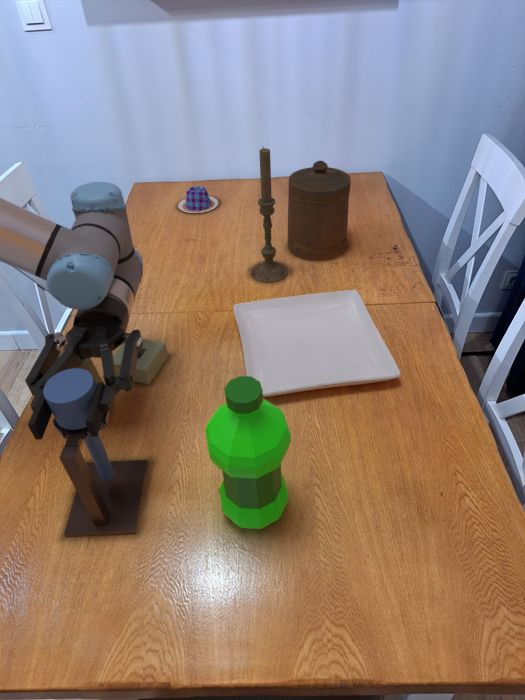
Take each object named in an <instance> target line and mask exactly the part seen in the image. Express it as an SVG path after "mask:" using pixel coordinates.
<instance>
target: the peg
mask: <svg viewBox="0 0 525 700" xmlns="http://www.w3.org/2000/svg"><path fill="white" fill-rule="evenodd" d="M95 389H96V383H95V381H94V378H93V376H92V374H91V373H90V372H88V371H87V370H84V369H80V368H73V369H67V370H64V371H61V372H59V373H57V374H56V375H54V376H53V377H51V378H50V379H49V380H48V381H47V383H46V384H45V386H44V389H43V394H44V397H45V399H46V401H47V403H48V405H49V407H50V409H51V411H52V415H53V418H55V419H56V421H57V423H58V424H59V425H60V426H61V427H63V428H65V429H69V430H77V429H82V428H85V427H87V426H86V423H85V421H86V418H87V414H88V411H89V408H90V405H91V402H92V399H93V395H94V392H95ZM83 441H84V444H85V445H86V448H87V450H88V453H89V454H90V457H91V459H92V461H93V462H94V463H95V465H96V468H97V470H98V472H99V474H100V476H101V478H102V479H103V480H109V479H111V478H112V477H113V476H114V470H113V468H112V465H111V463H110V461H111V460H110V458H109V456H108V453H107V451H106V449H105V446H104V443H103V442H102V441H103V440H102V439H101V437H100V434H98V437H90V438H89V437H88V436H87V437H86V439H83Z"/></svg>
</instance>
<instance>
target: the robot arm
mask: <svg viewBox="0 0 525 700" xmlns="http://www.w3.org/2000/svg"><path fill="white" fill-rule="evenodd" d="M70 202H71V206H72V208H71V211H72V212H73V214H74V218H75V220H74V221H73V224H72V226H71V228H69V227H66V226H63V225H61V224H59V223H57V222H55V221H53V220H50V219H48V218H45V217H44V216H41V215H39V214H37V213H36V212H32V211H30V210H28V209H27V208H24V207H22V206H20V205H18V204H16V203H13V202H11V201H9V200H7V199H5V198H2V196H1V197H0V262H1V263H3V264H6V265H8V266H10V267H13V268H15V269H17V270H20V271H23V272H25V273H27V274H29V275H33V276H34V277H37V278H40V279H41V280H44V281H46V287H47V290H48V292H49V294H50V295H51V296H52V298H54V299H55V300H56V301H57V302H59V304H61V305H62V306H64V307H66V308H68V309H72V310H76V313H75V315H74V318H73V322H72V326H71V328H70V329H69V330H68V331H67V332H66V333H65V335H63V336H61V337H56V338H55V336H54V334H55V333H48V334H46V336H45V337H44V338H45V339H44V341H45V342H44V346H43V347H42V349H41V351H40V353H39V355H38V357H37V358H36V360H35V362H34V364H33V365H32V367H31V368H30V371H29V373H27V375H26V377H25V380H24V382H25V384H26V386H27V388H28V390H29V392H30V394H31V395H32V396H33V398H32V400H31V402H30V408H31V411H32V414H31V416H30V418H29V421H28V423H27V426H28V429H29V431H30V432H31V434H32V436H33V437H34V439H35V441H36V440H37V441H38V440H43V438H44V436H45V434H46V433H45V432H46V430H47V427H48V425H49V423H50V420H51V418H52V415H53V413H52V411H51V409H50V407H49V405H48V403H47V401H46V399H45V397H44V394H43V389H44V386H45V384H46V383H47V381H48V380H49V379H50V378H51V377H53V376H54V375H56V374H57V373H59V372H61V371H64V370H67V369H73V368H76V367H77V365H81V364H82V363H83V362H84V361H85V359H86V358H91V359H92V358H94V359H95V358H97V359H101V366H102V372H103V373H102V374H103V375H102V377H103V382H98V383H97V386H96V389H95V392H94V395H93V399H92V402H91V405H90V408H89V411H88V414H87V418H86V421H85V423H86V426H87V428H88V430H89V432H90V435H91V437H98V434H99V433H100V431H101V430H100V426H101V423H102V419H103V416H104V412H108V411H111V412H112V409H113V408H114V404H115V400H116V396H117V395H118V393H119V392H120V391H125V392H130V391H132V390H133V388H134V383H135V381H134V377H135V370H136V363H137V357H138V352H139V351H140V349H141V348H142V346H143V341H142V334H141V330H140V329H133V330H132V331H130V332H127V329H128V326H129V322H130V317H131V315H132V310H133V307H134V304H135V300H136V297H137V293H138V291H139V286H140V284H141V282H142V279H143V276H144V261H143V256H142V255H141V254H140V253H139V251H138V250H137V249H136V248H135V247H134V242H133V236H132V233H131V227H130V222H129V216H128V212H127V209H128V207H127V205H126V203H125V199H124V195H123V192H122V190H121V189H120V187H119V186H118V185H116V184H115V183H112V182H108V181H93V182H88V183H83V184H81V185H78V186H77V187H76V188H74V189H73V191H71V194H70ZM124 342H125V348H124V353H123V359H122V364H121V370H120V376H118V377H116V373H115V368H114V359H113V354H114V353H113V352H114V351H116V350H117V349H118V348H119V347H120V346H121V345H122V344H123V343H124ZM65 345H66V347H65V352H64V353H63V354H62V355H61V356H60V357H59V355H60V353H62V352H63V350H62V349H63V348H64V346H65ZM104 384H105V385H104ZM99 430H100V431H99ZM99 435H100V434H99Z"/></svg>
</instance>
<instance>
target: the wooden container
mask: <svg viewBox="0 0 525 700" xmlns="http://www.w3.org/2000/svg"><path fill="white" fill-rule="evenodd" d="M351 183H352V178H351V175H349V174H348V173H347V172H345V171H344V170H342V169H339V168H335V167H329V165H328V164H327V162H325V161H324V160H316V161H315V162H313V164H312V166H310V167H304V168H301V169H298V170H296V171H293V172H292V173H291V174H290V175H289V177H288V194H287V195H288V199H287V200H288V201H287V249H288V251H289V253H291V254H292V256H294V257H295V258H298V259H301V260H305V261H310V262H323V261H324V262H325V261H330V260H334V259H336V258H338V257H340V256H341V255H343V254H344V253H345V251H346V247H347V235H348V226H349V225H348V224H349V205H350V203H349V202H350V193H351V186H352V185H351Z"/></svg>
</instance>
